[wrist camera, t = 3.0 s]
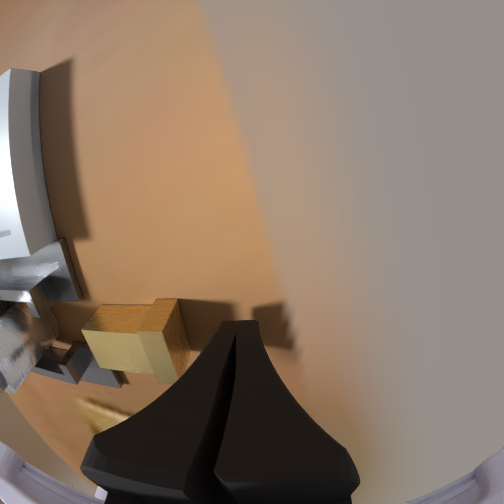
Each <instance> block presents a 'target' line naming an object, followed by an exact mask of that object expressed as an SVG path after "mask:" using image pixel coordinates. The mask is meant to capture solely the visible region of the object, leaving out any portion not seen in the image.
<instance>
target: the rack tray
mask: <svg viewBox="0 0 504 504" xmlns="http://www.w3.org/2000/svg"><path fill="white" fill-rule="evenodd" d="M39 79H40V72H36V71H30V70H23V69H15V68H10V69H9V70H8V71H6V72H5V73H4V74H3V75H1V76H0V259H8V258H17V257H26V256H31V255H33V254H34V253H36V252H37V251H39V250H40V249H42V248H44V247H45V246H47V245H48V244H50V243H51V242H53V241H55V240H56V239H57V235H56V231H55V227H54V223H53V219H52V214H51V210H50V205H49V200H48V194H47V189H46V183H45V176H44V169H43V161H42V152H41V141H40V125H39Z"/></svg>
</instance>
